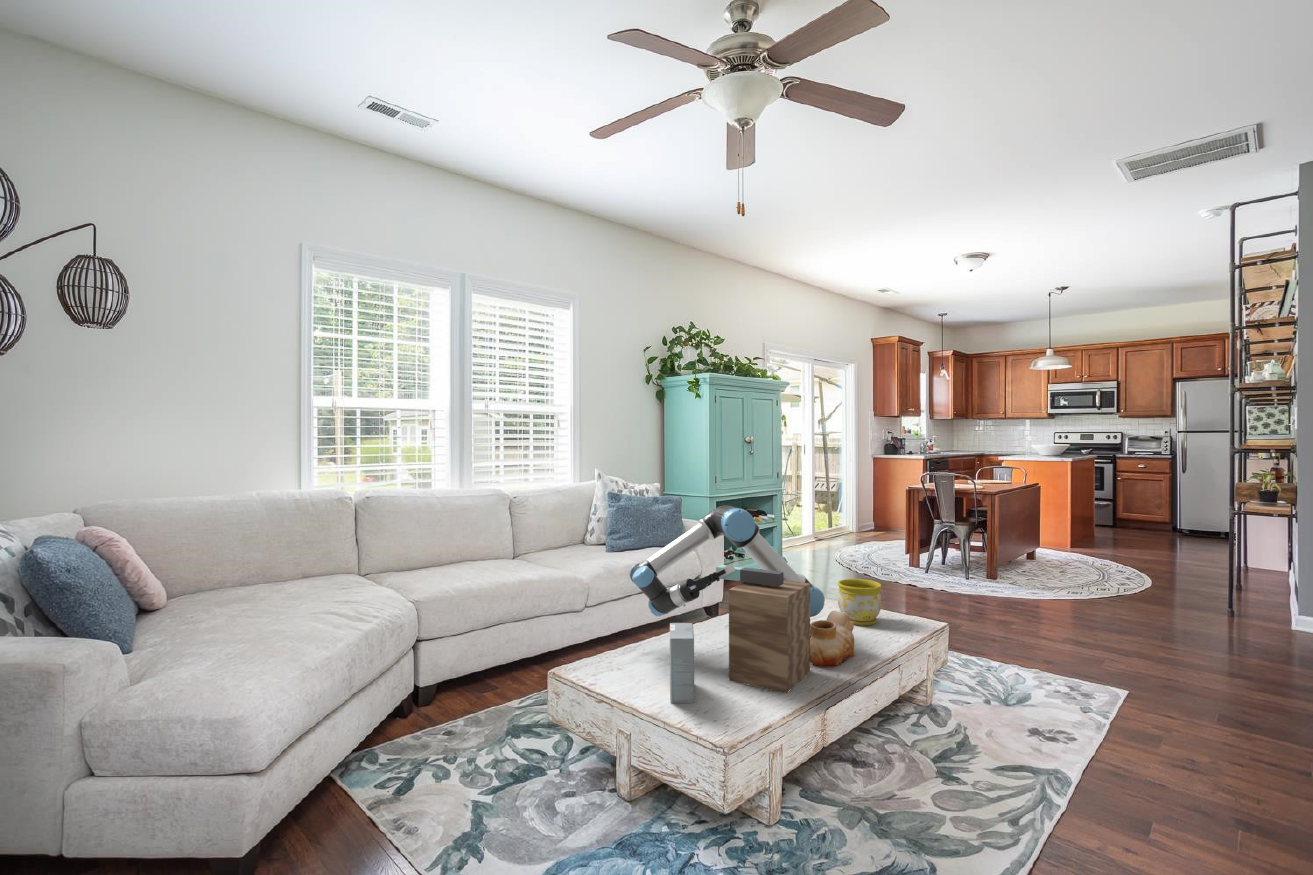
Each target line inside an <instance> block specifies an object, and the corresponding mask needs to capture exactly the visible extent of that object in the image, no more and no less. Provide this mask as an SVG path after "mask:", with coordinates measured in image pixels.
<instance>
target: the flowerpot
mask: <svg viewBox="0 0 1313 875" xmlns="http://www.w3.org/2000/svg"><path fill="white" fill-rule="evenodd" d="M837 585H838V596H837V604H838V609H839V612H845V613H847V614H848V616H849V620H850V621H851V622H852V623H853V626H861V627H862V626H863V627H864V626H872V625H874V624H875V623H876V622H877V621H878V619H877V617H878V616H879V614H880V612H881V609H882V596H881V593H882V591H881V589H882V584H881V583H880V582H878V581H875V580H871V579H862V578H846V579H845V578H844V579H841V580H839V581H838V582H837Z"/></svg>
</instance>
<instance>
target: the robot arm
mask: <svg viewBox="0 0 1313 875" xmlns="http://www.w3.org/2000/svg"><path fill="white" fill-rule="evenodd" d="M720 536H724V537H726V538H727V539H728V540H729V541H730V543H731V544H732V545H734V547H735V548H736V549H740V550H741V549H743V551H745V553H746V554H747V555H748V556H749V557H750V558H751V559H752V560H753V561H754V562H755V563H756V564H757V565H758V567H759V568H760V569H762V570H771V571H780V572H783V578H784V580H787V581H795V582H803V583H810V618H812V617H816V616H817V615H819V614H820V613H822V610H823V609H824V606H825V601H826V599H825V595H824V593H823V591H822V590H821V589H820V588H818V587H817V586H815V585H813V584H812V583H811V582H810V580H808V579H807V578H806V577H805V576H804V575H803V574H802V573H801V574H800V573H797V572H796V571H795V570H794V569H793V568H792V566H790V565H789V564H788V563H787V562H786V560H784V558H782V556H781V555H780V554H779V553H778V552H777V551H776V549H774V548H773V546H771V544H770V543H769V542H768V541H767V540H766V539H765V537H763V535H761V534H760V526H759V525H758V524H757V523H756V522H755V519H754V517H753V515H752V514H751V513H749V512H748V511H747V510H745V509H743V508H741V507H740V508H739V507H735V506H732V505H730V504H729V505H728V504H724V505H720V506H718V507H716V508H714V509H713V510H711V511H710V512H708V513H706V515H704V516H703V517H701V518H700V519H699V520H698V522H697V524H696V525H694V526H693V527H691V528H690V529H689V530H687V531H686V532H684V533H683V534H681V535H680V536H678V537H677V538H676V539H674V540H673V541H671V542H669V543H668V544H666V545H665V546H664V547H662V548H661V549H660V550H658V551H657V552H655V553H654V554H653V555H651V556H650V557H648V558H647V559H645V560H643V561H642V562H641V563H638V562H637V563H634V564H633V565H632V566H631V567H630V569H629V571H628V573H629V574H628V575H629V579H630V580H631V582H632V583H634V584H635V585H636V587H638V589H639V590H640V591H641V593H643V594H644V595H645V596H646V597H647V598H648V600H649V601H648V609H650V613H651V614H652V615H653V616H655V617H662V616H665V615H667V614H669V613H670V612H673V611H675V610H676V609H678V608H680V607H686V604H688V603H690V602H693V601H695V600H696V599H697V600H698V598H699V597H700V594H701V593H700V592H701V591H703V590H705V589H706V588H708V587H709V586H711V585H712V584H713V583H714V582H720V581H721V579H719V578H722V577H724V576H726V575H728V574H730V573H732V572H734V571H736V570H735V568H734V566H736V567H742V566H741V564H740V562H739V561H738V560H736V561H734V562H733V563H730V564H727V566H726V567H724V568H722V569H720V570H718V571H714V572H713V573H709V574H708V575H705V576H704V577H701V578H698V579H695V580H694V579H692V578H687V579H685V580H683V581H681V582H679V583H677V584H675V585H673V586H671V587H670V588H667V587H666V586H665V584H663V582H662V581H661V580H660V579H659V578H658V576H659V575H660V574H662V573H663V572H665V571H667V570H668V569H670V567H672V566H673V565H675V564H676V563H677V562H679V561H680V560H682V559H684V558H685V557H687V556H688V555H689V554H691V553H692V552H694V551H695V550H697V549H698V548H700V547H701V546H702V545H704V544H705V543H707V542H708V541H710V540H711V541H714V540H715V539H717V538H718V537H720ZM716 572H717V573H716Z"/></svg>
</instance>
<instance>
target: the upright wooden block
mask: <svg viewBox="0 0 1313 875" xmlns="http://www.w3.org/2000/svg"><path fill="white" fill-rule="evenodd" d="M810 583H811V582H810ZM810 583H803V582H795V581H787V580H784V584H782V585H781V586H772V585H765V584H757V583H749V582H741V583H739V584H737V585H736V586H734V587H731V588H729V589H728V681H730V682H734V683H739V684H744V685H747V684H748V686H752V687H757V688H761V689H767V690H770V689H772V690H771V691H775V690H776V691H775V692H779V691H781V692H780V693H784V692H786V693H785V694H788V693H789V692H790V691H791V690H793V688H794V687H795V686H796V685H797V684H799V683H800V682H801V681H802V680H803V679H804V678H805V677H806V676H807V675H808V674H809V673H810V672H811V662H810V638H811V630H810V624H811V617H810ZM805 675H806V676H805ZM803 677H804V678H803ZM790 689H791V690H790ZM789 690H790V691H789ZM788 691H789V692H788ZM787 692H788V693H787Z"/></svg>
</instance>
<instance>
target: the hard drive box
mask: <svg viewBox="0 0 1313 875" xmlns="http://www.w3.org/2000/svg"><path fill="white" fill-rule="evenodd" d="M669 693H670V694H669V696H670V697H669V698H670V699H669V701H670V703H671V704H694V703H695V634H694V624H693V623H692V622H670V623H669Z"/></svg>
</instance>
